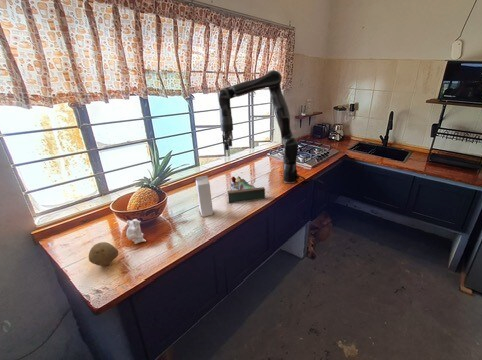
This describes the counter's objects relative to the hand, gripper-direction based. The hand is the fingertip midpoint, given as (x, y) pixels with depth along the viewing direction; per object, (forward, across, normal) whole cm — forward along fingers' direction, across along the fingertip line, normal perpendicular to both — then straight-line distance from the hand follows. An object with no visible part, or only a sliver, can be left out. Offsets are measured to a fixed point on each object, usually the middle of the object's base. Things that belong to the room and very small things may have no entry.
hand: (228, 148), depth 159 cm
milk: (+27, -37, +5) cm, 46 cm away
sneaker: (+27, -9, -10) cm, 31 cm away
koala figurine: (+27, -63, +27) cm, 74 cm away
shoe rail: (+27, -20, -14) cm, 37 cm away
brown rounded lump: (+27, -79, +31) cm, 89 cm away
